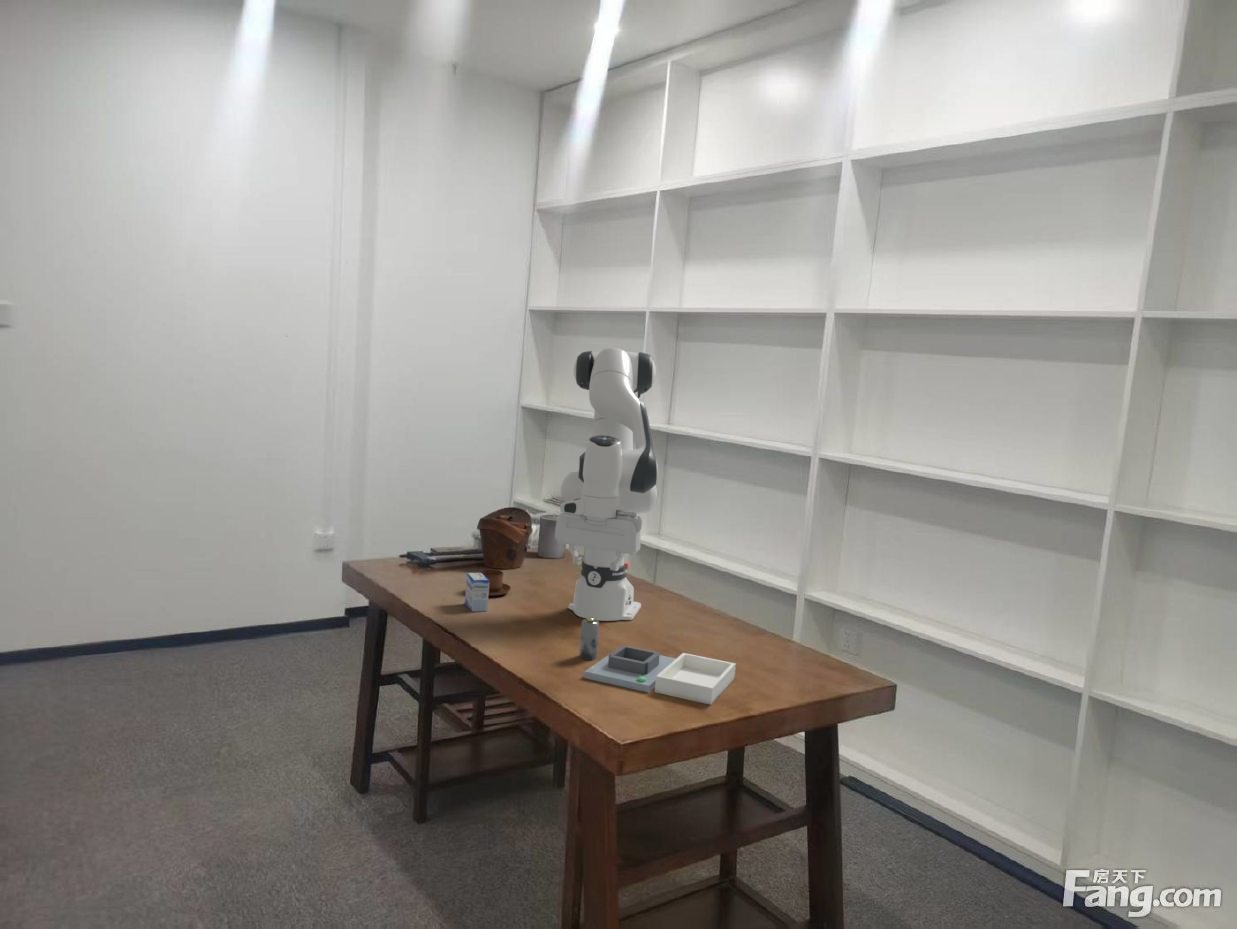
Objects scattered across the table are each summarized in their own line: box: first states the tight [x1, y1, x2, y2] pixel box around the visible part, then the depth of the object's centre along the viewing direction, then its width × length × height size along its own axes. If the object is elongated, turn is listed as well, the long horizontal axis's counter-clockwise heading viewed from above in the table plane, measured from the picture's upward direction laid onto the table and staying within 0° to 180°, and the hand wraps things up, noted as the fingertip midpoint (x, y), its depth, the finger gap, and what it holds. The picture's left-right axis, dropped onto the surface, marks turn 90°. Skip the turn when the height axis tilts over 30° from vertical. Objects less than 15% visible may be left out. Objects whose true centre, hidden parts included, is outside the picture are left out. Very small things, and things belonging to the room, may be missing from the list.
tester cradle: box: [583, 644, 677, 693], centre depth 197 cm, size 20×15×4 cm
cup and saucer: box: [477, 568, 511, 597], centre depth 254 cm, size 12×12×6 cm
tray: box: [654, 652, 737, 706], centre depth 192 cm, size 18×12×4 cm
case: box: [476, 506, 533, 570], centre depth 288 cm, size 18×20×18 cm
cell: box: [578, 617, 600, 661], centre depth 204 cm, size 4×4×9 cm
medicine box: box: [464, 572, 489, 613], centre depth 238 cm, size 8×4×9 cm, turn 23°
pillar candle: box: [537, 513, 567, 560], centre depth 307 cm, size 10×10×15 cm
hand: (595, 567), depth 203 cm, fingers open, 8 cm apart
